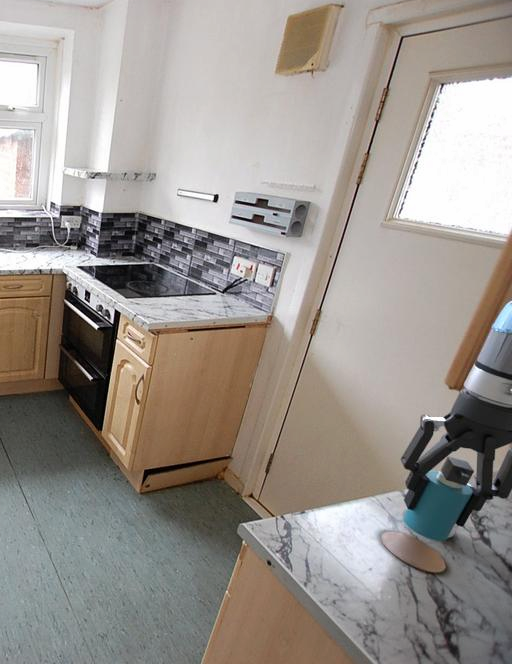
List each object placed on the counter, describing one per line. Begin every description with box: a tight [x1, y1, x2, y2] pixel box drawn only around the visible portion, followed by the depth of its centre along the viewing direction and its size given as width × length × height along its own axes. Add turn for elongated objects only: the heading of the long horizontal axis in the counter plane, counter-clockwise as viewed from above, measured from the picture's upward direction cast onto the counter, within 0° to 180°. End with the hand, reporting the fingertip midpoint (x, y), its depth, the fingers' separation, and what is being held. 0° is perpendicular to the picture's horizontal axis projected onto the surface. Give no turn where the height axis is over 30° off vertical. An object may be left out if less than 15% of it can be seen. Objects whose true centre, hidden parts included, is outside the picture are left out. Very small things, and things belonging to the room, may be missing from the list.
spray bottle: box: [402, 455, 475, 542], centre depth 78 cm, size 7×6×14 cm
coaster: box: [381, 531, 447, 574], centre depth 83 cm, size 9×9×1 cm
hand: (432, 512), depth 80 cm, fingers closed on spray bottle, 6 cm apart
